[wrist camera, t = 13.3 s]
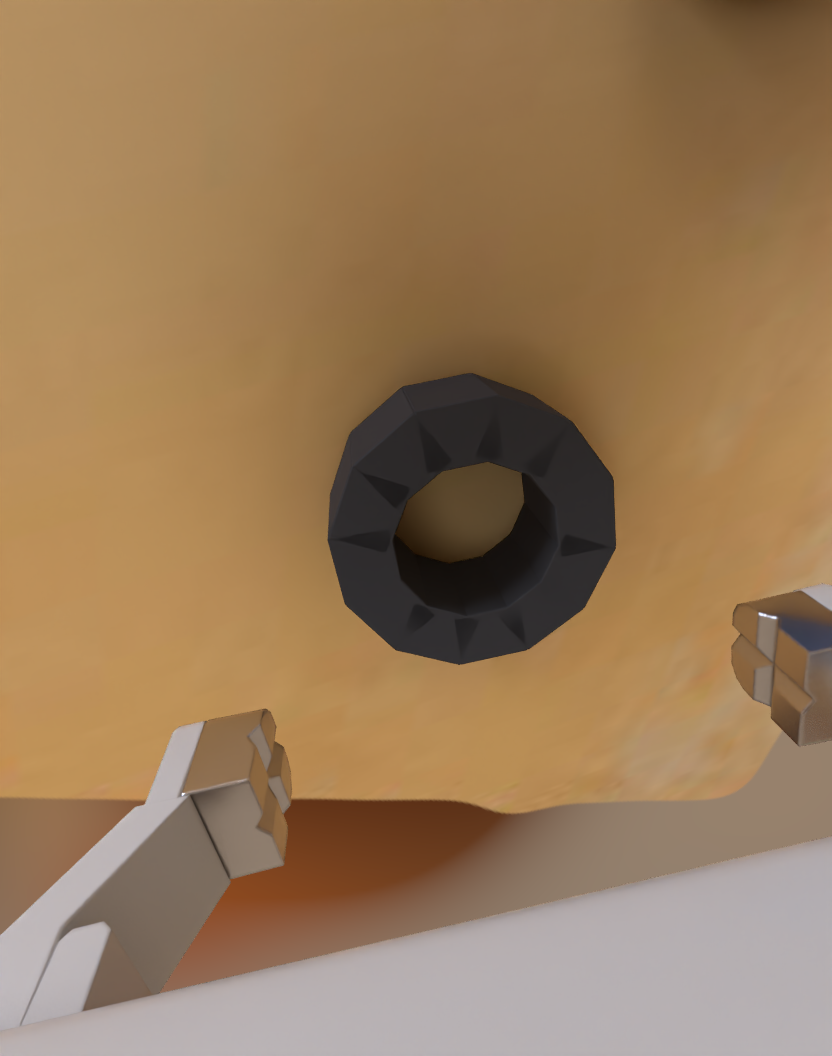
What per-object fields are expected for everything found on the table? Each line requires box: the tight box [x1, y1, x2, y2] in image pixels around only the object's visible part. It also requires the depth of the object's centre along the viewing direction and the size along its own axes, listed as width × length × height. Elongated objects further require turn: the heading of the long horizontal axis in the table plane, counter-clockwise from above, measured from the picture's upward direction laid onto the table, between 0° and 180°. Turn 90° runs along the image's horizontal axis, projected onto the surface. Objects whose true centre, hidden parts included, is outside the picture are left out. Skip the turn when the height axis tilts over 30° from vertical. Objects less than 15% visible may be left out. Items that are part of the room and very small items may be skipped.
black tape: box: [328, 373, 616, 665], centre depth 25 cm, size 11×11×5 cm
